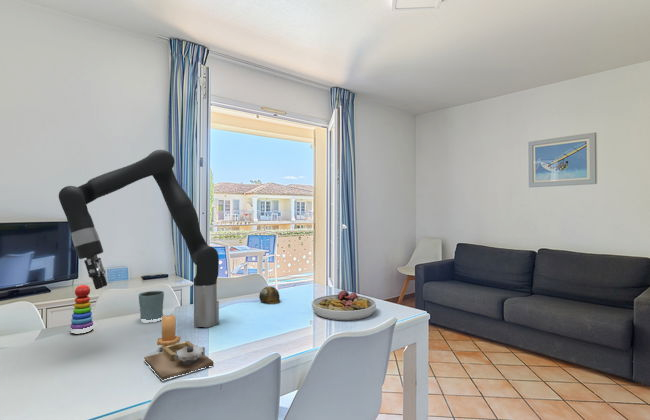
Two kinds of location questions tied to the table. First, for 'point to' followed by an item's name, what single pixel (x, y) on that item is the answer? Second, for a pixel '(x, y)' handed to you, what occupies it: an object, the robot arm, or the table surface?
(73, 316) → the stacking toy
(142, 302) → the grey cup
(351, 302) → the bowl
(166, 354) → the gear board
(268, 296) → the seashell
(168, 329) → the orange gear spindle
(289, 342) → the table surface
